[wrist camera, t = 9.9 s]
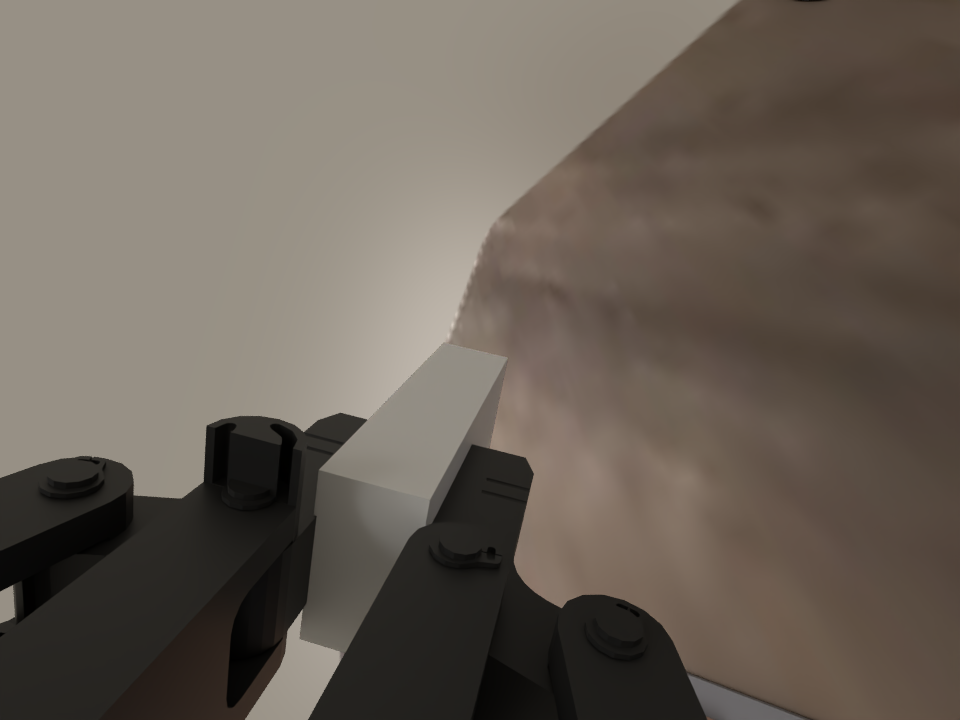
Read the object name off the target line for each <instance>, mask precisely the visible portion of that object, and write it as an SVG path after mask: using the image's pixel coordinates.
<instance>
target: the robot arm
mask: <svg viewBox="0 0 960 720" xmlns="http://www.w3.org/2000/svg"><path fill="white" fill-rule="evenodd" d="M804 1H807V0H804ZM507 360H508V357H503V356H499V355H495V354H491V353H486V352H482V351H478V350H473V349H469V348H465V347H461V346H456V345H452V344H448V343H443V344H442V345H441V346H440V347H439V348H438V349H437V350H436V351H435V352H434V353H433V354H432V355H431V356H430V357H429V358H428V359H427V360H426V361H425V362H424V363H423V364H422V365H421V366H420V367H419V369H417V370H416V371H415V372H414V373H413V375H411V377H410V378H409V379H408V380H407V381H406V382H405V383H404V384H403V385H402V386H401V387H400V388H399V389H398V390H397V391H396V392H395V393H394V394H393V395H392V396H391V397H390V398H389V399H388V400H387V401H386V402H385V403H384V404H383V405H382V406H381V407H380V408H379V409H378V410H377V411H376V412H375V413H374V414H373V415H372V416H371V417H370V418H369V419H368V420H367V419H363V418H359V417H355V416H351V415H347V414H343V413H339V414H336V415H333V416H329V417H327V418H324V419H320V420H318V421H317V422H315V423H314V424H313V425H312V426H311V427H310V428H308V429H307V430H306V431H305V432H303V431H301V430H300V429H299V428H298V427H296V426H295V425H293V424H290V423H288V422H285V421H282V420H280V419H274V418H268V417H262V416H239V417H233V418H228V419H221V420H219V421H217V422H214V423H212V424H210V425H207V428H206V447H205V467H204V482H203V483H202V484H200V485H199V486H198V487H197V488H195V489H194V490H193V491H191V492H190V493H189V494H187V495H186V496H185V497H184V498H182V499H176V498H161V497H147V496H133V486H134V484H133V483H134V482H133V475H132V471H131V470H129V469H128V468H127V467H125V466H124V465H123V464H121V463H118V462H115V461H112V460H109V459H105V458H99V457H94V458H92V457H90V456H79V457H76V458H66V459H59V460H55V461H51V462H47V463H43V464H39V465H37V466H33V467H30V468H28V469H25V470H22V471H19V472H16V473H13V474H11V475H8V476H5V477H2V478H0V591H2V590H4V589H6V588H8V587H10V586H12V585H13V590H14V605H15V617H14V618H13V619H11V620H9V621H6V622H3V623H0V720H245V718H246V717H247V715H248V714H249V712H250V711H251V709H252V708H253V706H254V705H255V703H256V702H257V700H258V699H259V697H260V696H261V694H262V693H263V691H264V690H265V688H266V687H267V685H268V684H269V682H270V681H271V679H272V678H273V676H274V675H275V673H276V672H277V670H278V668H279V667H280V665H281V662H282V659H283V657H284V654H285V648H286V638H287V630H288V629H289V627H290V626H291V625H292V623H293V622H294V620H295V619H296V618H297V616H298V614H299V613H300V612H301V610H302V609H303V613H302V621H301V631H300V639H301V640H305V641H308V642H311V643H315V644H318V645H321V646H324V647H328V648H331V649H334V650H337V651H341V652H344V653H345V654H344V656H343V658H342V660H341V661H340V663H339V665H338V667H337V669H336V670H335V672H334V674H333V676H332V678H331V679H330V681H329V683H328V685H327V687H326V689H325V690H324V692H323V694H322V696H321V697H320V699H319V701H318V703H317V705H316V707H315V708H314V710H313V712H312V714H311V715H310V717H309V719H308V720H707V717H706V715H705V713H704V711H703V708H702V706H701V704H700V702H699V699H698V697H697V695H696V693H695V690H694V688H693V686H692V684H691V681H690V679H689V677H688V675H687V672H686V670H685V668H684V666H683V663H682V661H681V659H680V657H679V654H678V652H677V650H676V648H675V645H674V643H673V641H672V640H671V638H670V637H669V635H668V634H667V632H666V631H665V629H664V628H663V626H662V625H661V624H660V623H659V622H657V621H656V620H655V619H654V618H653V617H651V616H650V615H649V614H648V613H647V612H645V611H644V610H642V609H640V608H638V607H636V606H634V605H632V604H631V603H629V602H627V601H625V600H621V599H618V598H614V597H610V596H606V595H582V596H579V597H577V598H574V599H572V600H569V601H567V603H566V604H565V605H564V606H563V608H560V607H558V606H556V605H554V604H552V603H550V602H549V601H547V600H545V599H544V598H542V597H541V596H539V595H538V594H536V593H535V592H534V591H532V590H531V589H530V588H529V587H528V586H527V585H526V584H525V583H524V582H523V580H522V579H521V578H520V576H519V575H518V573H517V571H516V568H515V565H514V555H515V551H516V547H517V543H518V539H519V535H520V530H521V526H522V522H523V518H524V513H525V509H526V505H527V500H528V496H529V492H530V488H531V483H532V479H533V475H534V473H533V471H532V469H531V467H530V465H529V463H528V461H527V460H526V458H524V457H520V456H516V455H513V454H509V453H505V452H501V451H497V450H493V449H489V447H490V442H491V438H492V433H493V428H494V423H495V418H496V413H497V409H498V404H499V399H500V394H501V389H502V384H503V380H504V375H505V370H506V365H507Z"/></svg>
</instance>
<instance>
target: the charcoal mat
mask: <svg viewBox="0 0 960 720" xmlns="http://www.w3.org/2000/svg"><path fill="white" fill-rule="evenodd" d="M687 675H688V677H689V679H690V681H691V684H692V686H693V688H694V690H695V693H696V695H697V697H698V699H699V702H700V704H701V706H702V708H703V711H704V713H705V715H706V717H709V718H711V719H713V720H811V719H808V718H806V717H803V716H800V715H798V714H795V713H793V712H790V711H787V710H785V709H782V708H779V707H777V706H774V705H772V704H769V703H766V702H764V701H761V700H758V699H756V698H753V697H751V696H748V695H745V694H743V693H740V692H737V691H735V690H732V689H730V688H727V687H724V686H722V685H719V684H717V683H714V682H711V681H709V680H706V679H703V678H701V677H698V676H696V675H693V674H690V673H688V672H687Z"/></svg>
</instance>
